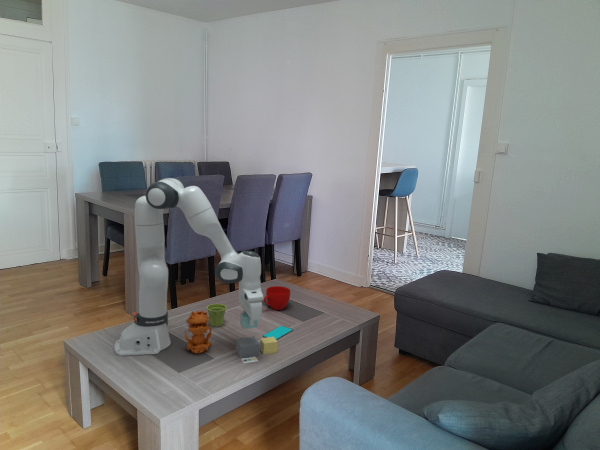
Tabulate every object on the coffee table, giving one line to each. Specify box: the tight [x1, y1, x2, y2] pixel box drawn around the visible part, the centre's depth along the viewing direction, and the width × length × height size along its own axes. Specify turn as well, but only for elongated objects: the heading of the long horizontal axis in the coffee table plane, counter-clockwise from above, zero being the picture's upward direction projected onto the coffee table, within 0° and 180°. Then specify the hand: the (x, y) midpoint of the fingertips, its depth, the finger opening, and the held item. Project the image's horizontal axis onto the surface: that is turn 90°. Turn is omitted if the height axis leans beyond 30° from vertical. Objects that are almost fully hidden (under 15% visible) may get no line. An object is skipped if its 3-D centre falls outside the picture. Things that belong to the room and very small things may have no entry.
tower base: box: [235, 336, 261, 359], centre depth 185 cm, size 8×8×5 cm
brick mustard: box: [259, 337, 278, 355], centre depth 187 cm, size 6×5×5 cm
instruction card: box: [241, 356, 259, 364], centre depth 179 cm, size 6×4×1 cm, turn 113°
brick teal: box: [239, 311, 259, 330], centre depth 182 cm, size 6×5×5 cm
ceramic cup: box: [263, 285, 291, 311], centre depth 234 cm, size 13×17×10 cm
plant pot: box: [206, 303, 228, 328], centre depth 211 cm, size 9×9×9 cm
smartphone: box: [262, 325, 294, 341], centre depth 205 cm, size 7×1×15 cm
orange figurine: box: [184, 310, 213, 354], centre depth 183 cm, size 11×11×18 cm
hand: (248, 322), depth 183 cm, fingers closed on brick teal, 5 cm apart
